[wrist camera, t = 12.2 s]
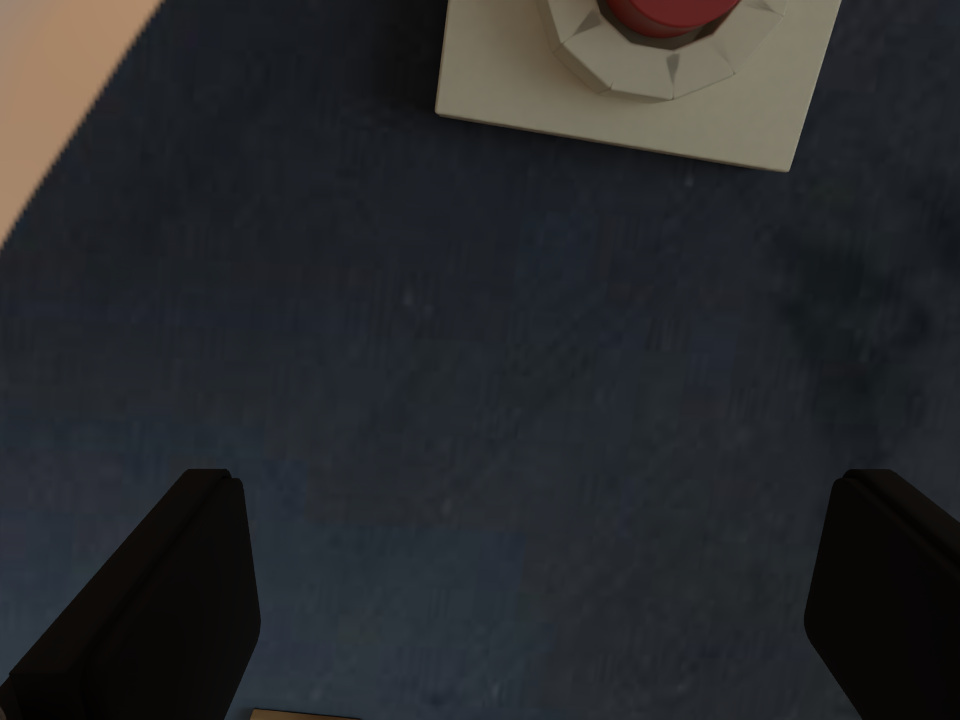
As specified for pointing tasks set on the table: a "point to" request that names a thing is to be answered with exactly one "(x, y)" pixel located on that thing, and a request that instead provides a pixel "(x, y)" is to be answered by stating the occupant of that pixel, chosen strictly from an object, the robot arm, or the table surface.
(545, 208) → the table surface
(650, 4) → the timer button
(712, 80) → the beige button base
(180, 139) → the table surface
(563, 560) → the table surface
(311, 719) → the rack
